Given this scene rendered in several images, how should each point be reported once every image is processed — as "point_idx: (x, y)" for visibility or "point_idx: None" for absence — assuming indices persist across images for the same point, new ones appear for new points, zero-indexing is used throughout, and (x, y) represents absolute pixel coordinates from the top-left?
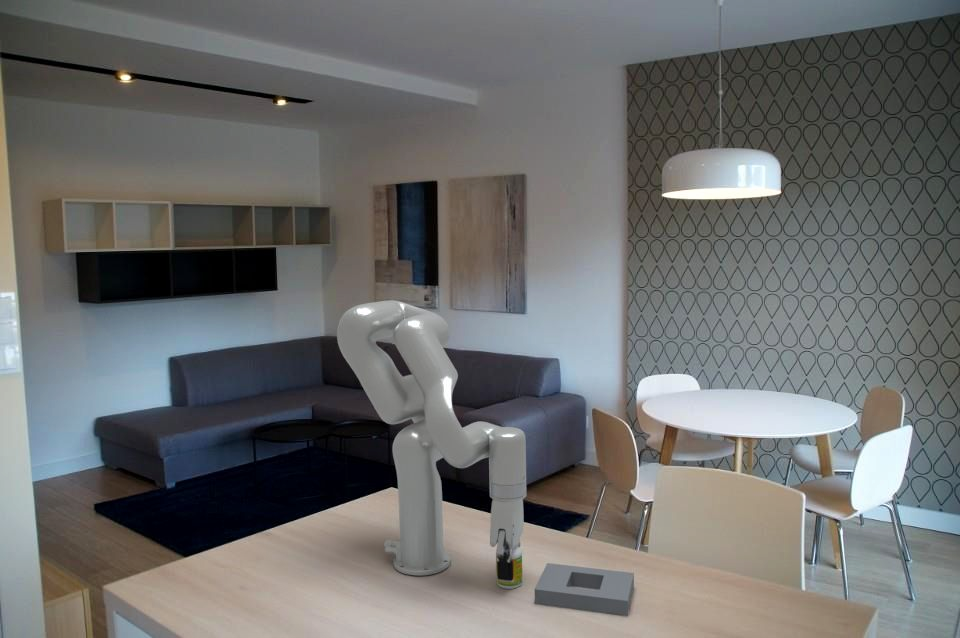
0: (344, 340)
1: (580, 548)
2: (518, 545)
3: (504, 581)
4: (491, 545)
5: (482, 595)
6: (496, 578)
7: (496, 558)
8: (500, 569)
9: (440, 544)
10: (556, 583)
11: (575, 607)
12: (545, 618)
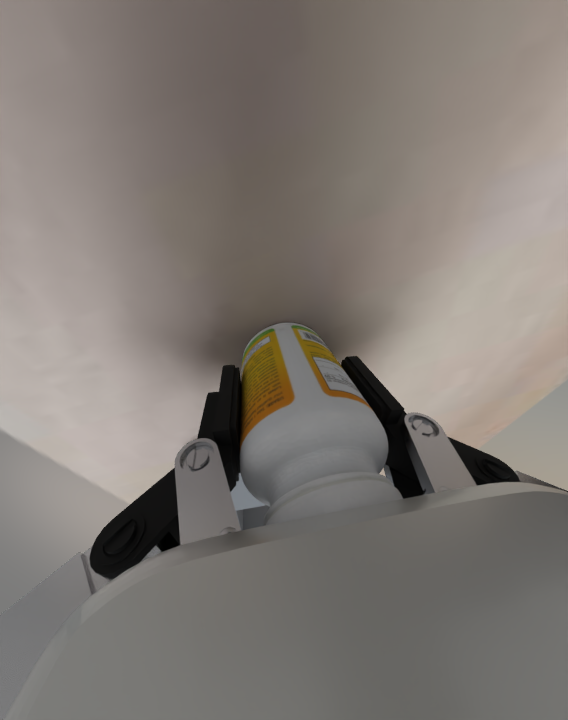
0: None
1: (466, 432)
2: (385, 473)
3: (241, 373)
4: (45, 648)
5: (159, 301)
6: (270, 332)
7: (275, 395)
8: (203, 416)
9: None
10: (242, 498)
11: None
12: (142, 471)
